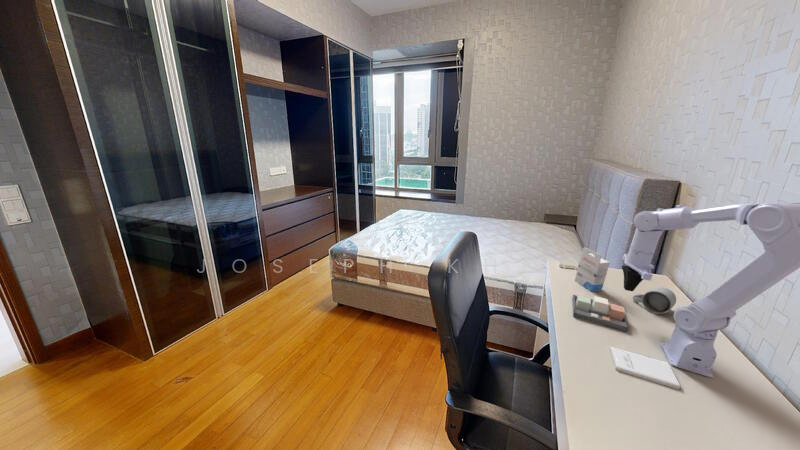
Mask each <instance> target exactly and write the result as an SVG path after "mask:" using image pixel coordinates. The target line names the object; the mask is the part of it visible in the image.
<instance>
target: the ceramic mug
mask: <svg viewBox="0 0 800 450" xmlns="http://www.w3.org/2000/svg"><path fill="white" fill-rule="evenodd" d="M632 301H633V302H636V303H641V304H642V305H643V307H644V308H645V310H648V311H649V312H651V313H653V314H657V315H664V314H667V313H669V312H670V311H671V309H672V308H674V306H675V305H676V303H677V296H676V294H675V292H673V291H672V289H669V288H667V287H662V286H657V287H653V288H650V289H649V290H648V291H645V293H639V294H633V295H632Z"/></svg>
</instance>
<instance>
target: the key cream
mask: <svg viewBox="0 0 800 450" xmlns="http://www.w3.org/2000/svg"><path fill="white" fill-rule="evenodd" d="M609 304H610V303H609V300H608V298H606V297H605V298H604V297H601V296H596V295H594V296H593V302H592V308H593V310H595V311H599V312H602V313H607V309H608V306H609Z"/></svg>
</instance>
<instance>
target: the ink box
mask: <svg viewBox="0 0 800 450" xmlns="http://www.w3.org/2000/svg"><path fill="white" fill-rule="evenodd" d="M602 256H603V255H602V254H600V253H598V252H596V251H594V250H592V249H590V248H587V247H586V246H584V247H583V248H582V253H581V254H580V257H579V258H580V259H579V261H578V262H579V263H578V265H577V266H578V267H577V270H576V274H575V278H574V281H575V282H576V283H578V284H580V285H581V286H582V287H583V288H585V289H587V290H588V289H589V290H588V291H590V292H598V291H599V290H600V291H602V290H603V287H604V284H605V281H606V276H607V274H608V272H609V271H608V270H609V267H610V263H611V262H610V261H608V260H605V259H604V258H602ZM600 291H599V292H600Z"/></svg>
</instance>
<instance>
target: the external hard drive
mask: <svg viewBox="0 0 800 450" xmlns="http://www.w3.org/2000/svg"><path fill="white" fill-rule="evenodd" d="M608 350H609V353H610V356H611V359H612V363H613V367H614V370H615V371H619V372H621V373H624V374H628V375H632V376H634V377H636V378H637V377H638V378H640V379H645V380H647V381H650V382H654V383H656V384H660V385H663V386H667V387H670V388H673V389H676V390H680V388H681V384H680V383H679V380H678V379H677V377H676V375H675V373H674V371H673V370H672V366H670V365H671V364H670V363H669V362H667V361H662V360H660V359H656V358H652V357H648V356H645V355H642V354H639V353H634V352H632V351H631V352H630V351H627V350H624V349H619V348H617V347H613V346H609V349H608Z"/></svg>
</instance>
